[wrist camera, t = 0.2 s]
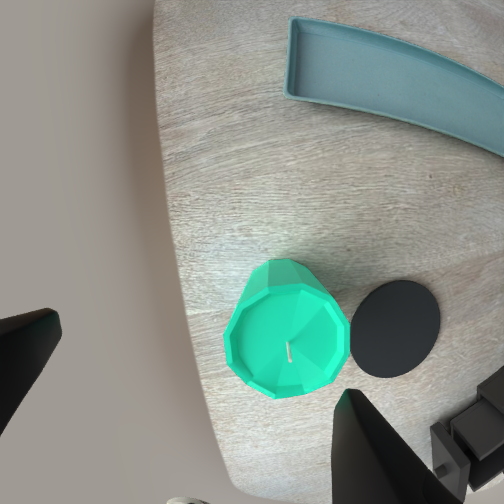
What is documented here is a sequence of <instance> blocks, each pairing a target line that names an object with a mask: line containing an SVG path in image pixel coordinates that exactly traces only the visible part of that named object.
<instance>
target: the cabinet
mask: <svg viewBox="0 0 504 504" xmlns="http://www.w3.org/2000/svg"><path fill="white" fill-rule="evenodd" d="M484 397H485V398H486V399H487V400H488V401H489V402H490V403H491V404H493V405H494V406H495V407H496V408H497V409H498V410H499V411H500V412H502V413H503V414H504V366H503V367H502V368H500V369H499V370H498V371H497V372H495V373H494V374H493V375H492V376H490V377H489V378H488V379H486V380H485V381H484V382H482V383H481V384H480V385H478V386H477V402H479V401H480V400H481V399H483V398H484ZM503 473H504V471H503Z"/></svg>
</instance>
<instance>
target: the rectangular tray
mask: <svg viewBox="0 0 504 504" xmlns="http://www.w3.org/2000/svg"><path fill="white" fill-rule="evenodd" d="M283 94H284V96H285V98H287V99H291V100H296V101H304V102H312V103H318V104H324V105H330V106H336V107H341V108H347V109H352V110H356V111H361V112H366V113H370V114H374V115H379V116H383V117H387V118H391V119H395V120H398V121H402V122H406V123H410V124H413V125H417V126H420V127H423V128H427V129H430V130H433V131H436V132H439V133H442V134H445V135H448V136H451V137H454V138H457V139H459V140H462V141H465V142H467V143H470V144H473V145H475V146H478V147H480V148H483V149H485V150H487V151H490V152H492V153H494V154H497V155H499V156H501V157H503V158H504V86H502V85H501V84H499V83H497V82H495V81H494V80H492V79H490V78H488V77H486V76H485V75H483V74H481V73H479V72H477V71H475V70H473V69H471V68H469V67H467V66H465V65H463V64H461V63H459V62H457V61H454V60H452V59H450V58H448V57H446V56H443V55H441V54H439V53H436V52H434V51H431V50H429V49H426V48H423V47H421V46H418V45H415V44H412V43H410V42H407V41H404V40H401V39H398V38H394V37H391V36H388V35H385V34H381V33H378V32H374V31H370V30H366V29H362V28H358V27H354V26H350V25H345V24H340V23H335V22H330V21H325V20H319V19H313V18H306V17H300V16H292V17H290V18H289V19H288V44H287V59H286V71H285V79H284V87H283Z"/></svg>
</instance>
